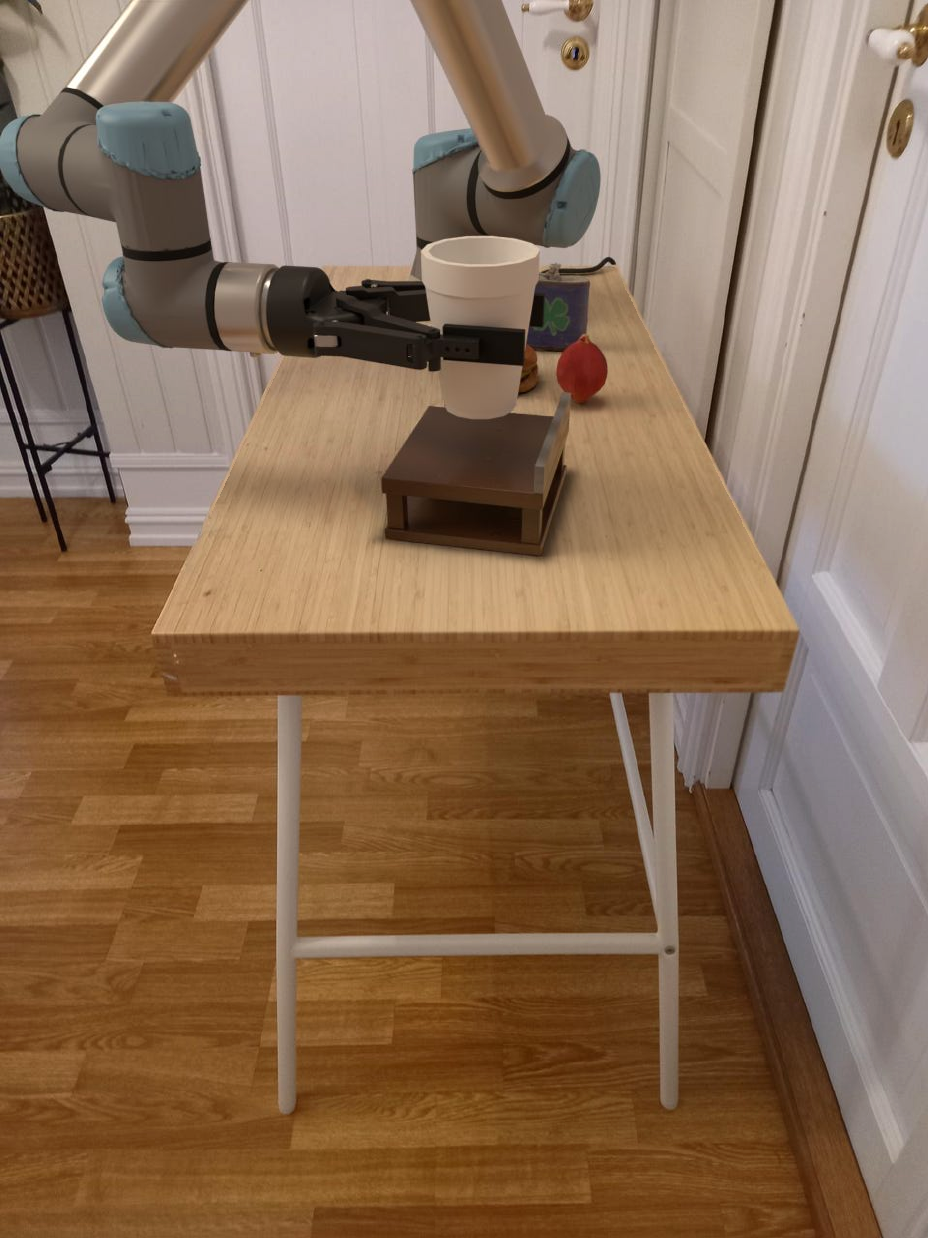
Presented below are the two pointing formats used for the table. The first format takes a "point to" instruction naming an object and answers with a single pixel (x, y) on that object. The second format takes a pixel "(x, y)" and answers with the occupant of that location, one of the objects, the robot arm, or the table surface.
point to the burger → (529, 370)
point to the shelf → (478, 480)
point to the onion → (582, 369)
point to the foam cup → (480, 313)
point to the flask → (560, 311)
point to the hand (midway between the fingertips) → (534, 328)
